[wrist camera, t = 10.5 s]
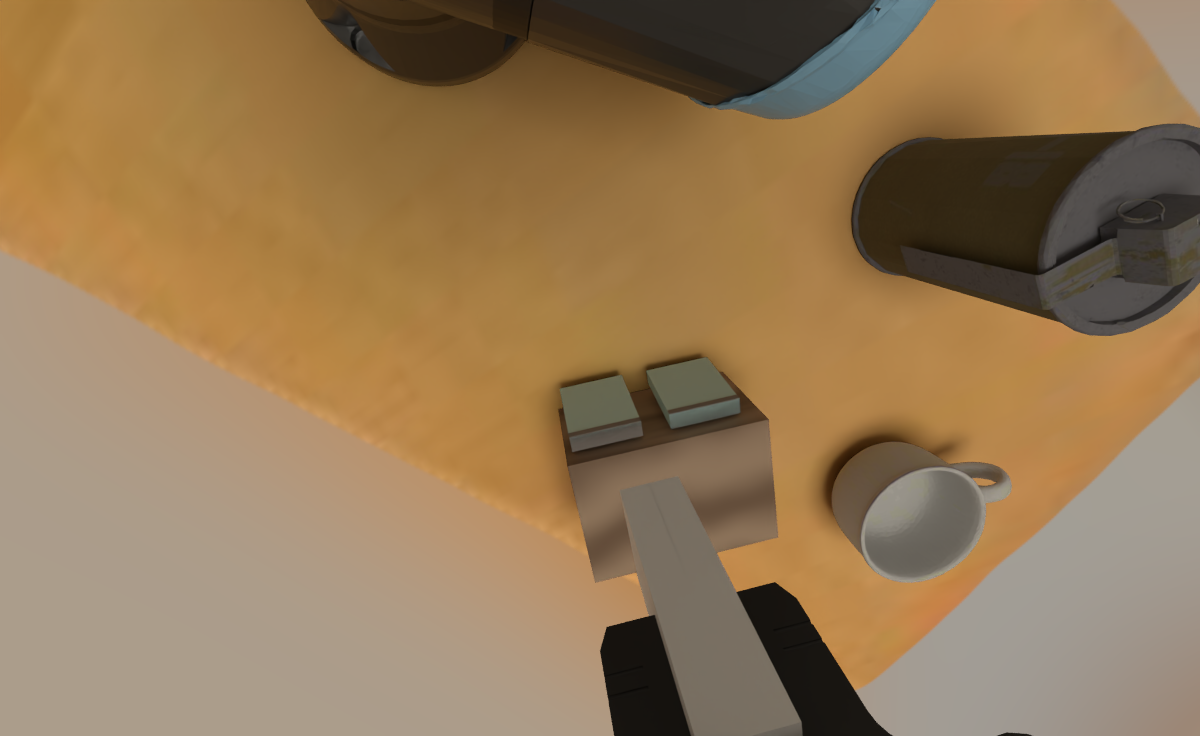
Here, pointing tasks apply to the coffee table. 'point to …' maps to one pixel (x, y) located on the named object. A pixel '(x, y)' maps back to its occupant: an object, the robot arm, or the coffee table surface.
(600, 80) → the coffee table surface
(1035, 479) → the coffee table surface
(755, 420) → the block
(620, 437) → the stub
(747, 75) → the robot arm
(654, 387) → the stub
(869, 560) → the teacup
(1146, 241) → the canister
